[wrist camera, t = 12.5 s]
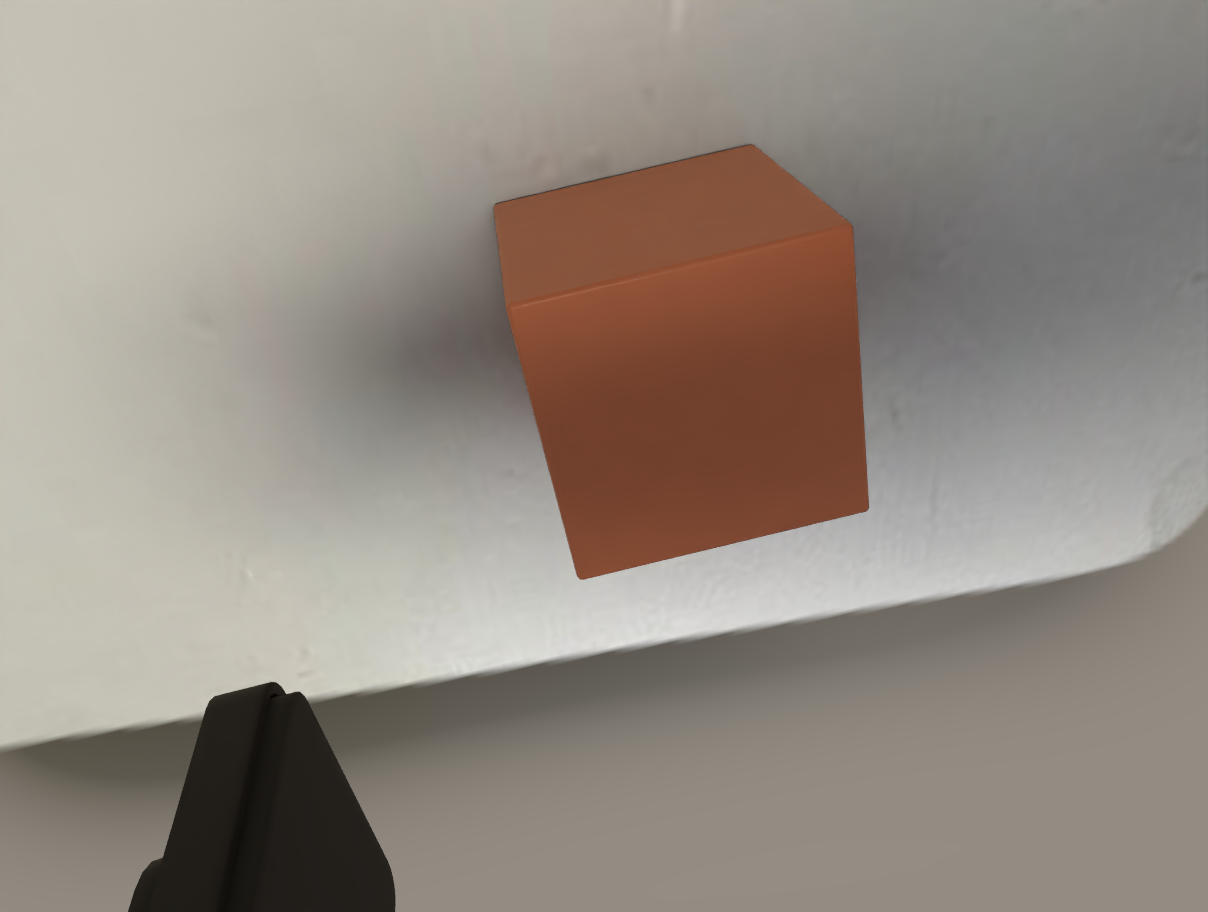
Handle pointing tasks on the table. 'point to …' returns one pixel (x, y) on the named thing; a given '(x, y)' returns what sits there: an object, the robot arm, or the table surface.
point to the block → (688, 355)
